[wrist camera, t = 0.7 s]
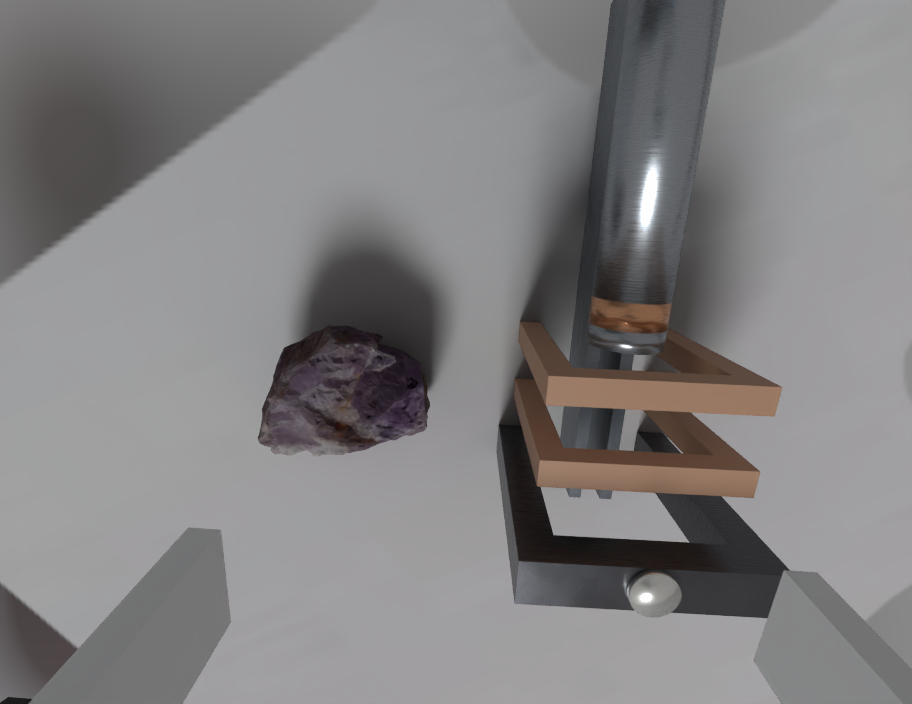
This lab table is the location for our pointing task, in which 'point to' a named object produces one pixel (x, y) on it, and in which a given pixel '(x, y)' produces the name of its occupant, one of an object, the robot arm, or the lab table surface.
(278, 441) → the rock
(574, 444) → the rail cradle
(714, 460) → the collar
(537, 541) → the dark grey u-shaped frame
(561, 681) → the lab table surface
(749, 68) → the lab table surface
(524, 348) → the collar
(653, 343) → the tube
